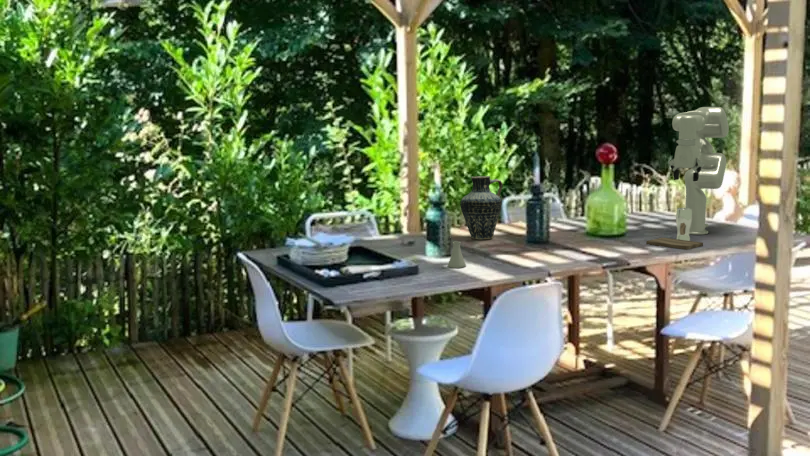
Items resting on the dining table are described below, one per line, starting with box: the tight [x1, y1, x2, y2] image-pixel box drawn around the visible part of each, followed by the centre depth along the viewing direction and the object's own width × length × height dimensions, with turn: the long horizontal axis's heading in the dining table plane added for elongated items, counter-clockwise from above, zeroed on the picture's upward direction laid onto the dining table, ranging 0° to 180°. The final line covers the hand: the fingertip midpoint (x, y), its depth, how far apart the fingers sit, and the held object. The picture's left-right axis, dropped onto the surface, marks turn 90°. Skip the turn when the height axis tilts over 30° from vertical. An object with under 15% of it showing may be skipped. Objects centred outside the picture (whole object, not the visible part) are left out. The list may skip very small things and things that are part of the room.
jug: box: [459, 175, 504, 240], centre depth 392 cm, size 21×19×30 cm
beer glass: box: [675, 207, 692, 241], centre depth 382 cm, size 7×7×15 cm
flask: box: [447, 241, 467, 269], centre depth 326 cm, size 7×7×10 cm
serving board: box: [645, 237, 704, 251], centre depth 371 cm, size 14×20×2 cm
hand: (685, 180), depth 378 cm, fingers open, 9 cm apart
